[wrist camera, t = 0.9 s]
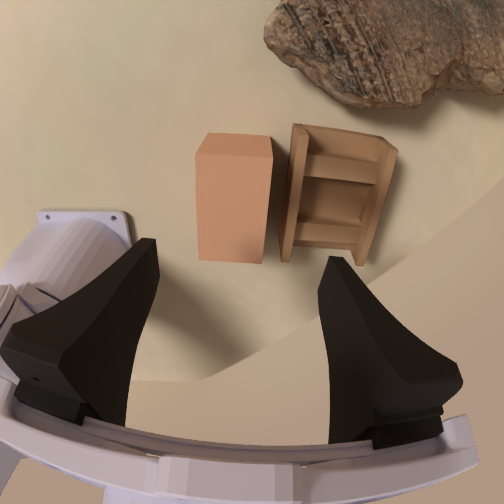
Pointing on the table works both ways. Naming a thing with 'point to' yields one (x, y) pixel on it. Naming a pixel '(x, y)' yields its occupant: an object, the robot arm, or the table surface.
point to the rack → (334, 190)
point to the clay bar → (233, 196)
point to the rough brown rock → (391, 47)
